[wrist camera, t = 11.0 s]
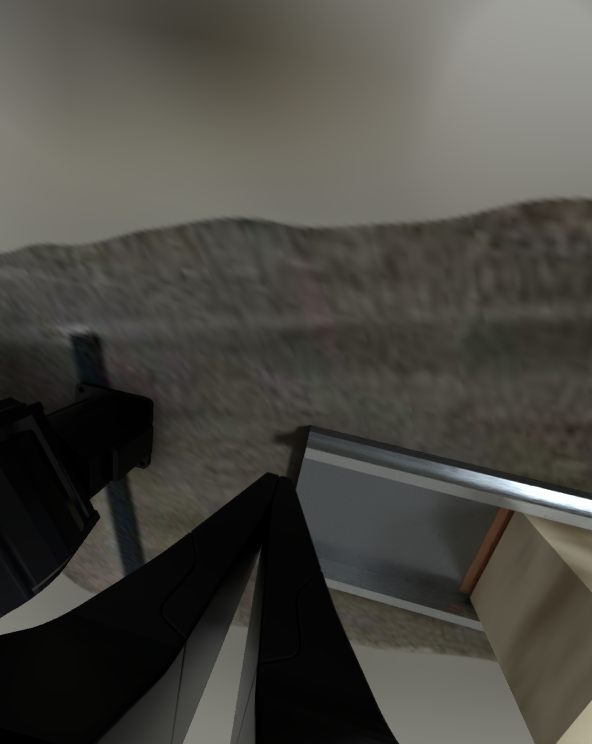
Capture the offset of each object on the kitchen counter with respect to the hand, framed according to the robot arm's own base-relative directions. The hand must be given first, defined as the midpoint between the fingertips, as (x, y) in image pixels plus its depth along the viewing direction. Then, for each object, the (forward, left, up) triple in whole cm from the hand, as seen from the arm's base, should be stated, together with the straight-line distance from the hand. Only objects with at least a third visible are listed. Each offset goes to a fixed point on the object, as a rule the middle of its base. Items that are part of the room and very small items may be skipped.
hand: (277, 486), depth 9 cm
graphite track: (+15, -10, -12) cm, 22 cm away
